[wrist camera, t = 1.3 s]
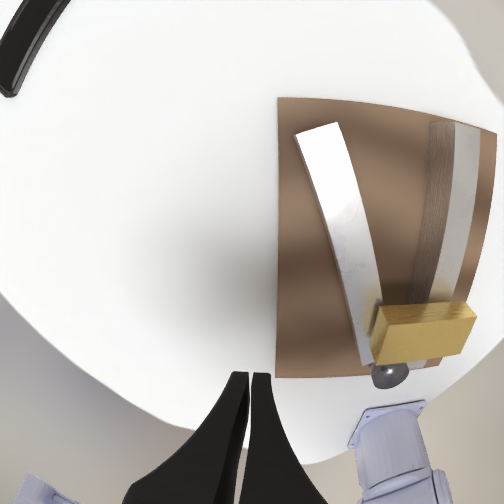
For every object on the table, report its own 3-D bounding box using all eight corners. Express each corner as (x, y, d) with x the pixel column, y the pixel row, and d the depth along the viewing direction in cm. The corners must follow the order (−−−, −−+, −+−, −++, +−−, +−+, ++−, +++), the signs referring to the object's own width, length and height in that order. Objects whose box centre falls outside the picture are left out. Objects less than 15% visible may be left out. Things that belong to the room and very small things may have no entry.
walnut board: (435, 358, 22) (438, 365, 21) (275, 369, 23) (274, 377, 22) (488, 132, 13) (496, 133, 12) (277, 99, 15) (277, 97, 14)
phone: (101, -45, 9) (9, 101, 14) (107, -40, 10) (17, 100, 15) (59, -49, 7) (-17, 76, 13) (65, -45, 8) (-10, 76, 14)
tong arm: (378, 330, 19) (389, 356, 17) (354, 338, 20) (362, 366, 17) (326, 124, 14) (337, 122, 11) (292, 135, 15) (296, 134, 12)
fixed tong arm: (406, 355, 20) (419, 384, 17) (360, 359, 21) (369, 391, 18) (453, 127, 13) (485, 130, 10) (396, 115, 13) (423, 112, 10)
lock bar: (449, 336, 15) (459, 353, 13) (369, 345, 16) (375, 365, 14) (464, 300, 14) (477, 316, 12) (379, 305, 14) (388, 325, 13)
